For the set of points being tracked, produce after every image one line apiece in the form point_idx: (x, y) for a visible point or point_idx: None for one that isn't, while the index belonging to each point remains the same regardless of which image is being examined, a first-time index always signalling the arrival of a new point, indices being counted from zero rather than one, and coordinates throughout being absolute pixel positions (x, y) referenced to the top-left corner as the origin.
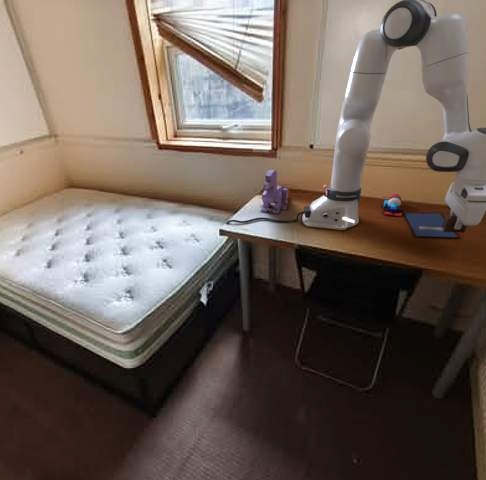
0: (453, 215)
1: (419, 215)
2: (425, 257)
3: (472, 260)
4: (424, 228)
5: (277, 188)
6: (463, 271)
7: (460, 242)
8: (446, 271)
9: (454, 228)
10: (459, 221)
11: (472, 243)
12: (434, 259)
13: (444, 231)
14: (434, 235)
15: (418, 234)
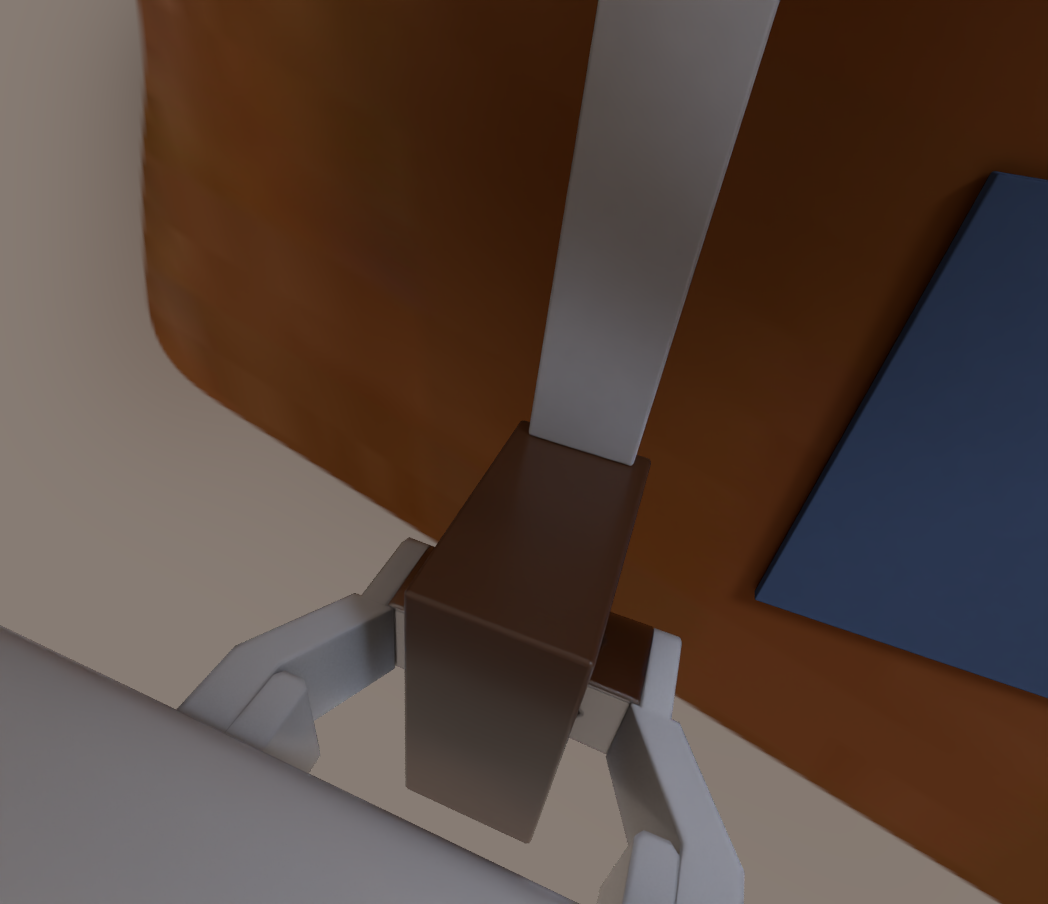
0: (639, 779)
1: None
2: (366, 29)
3: (367, 452)
4: (630, 73)
5: None
6: (197, 295)
7: (666, 560)
8: (150, 146)
9: (407, 540)
10: (250, 653)
11: (631, 618)
12: (337, 131)
13: (517, 428)
14: (892, 431)
15: (1043, 225)
